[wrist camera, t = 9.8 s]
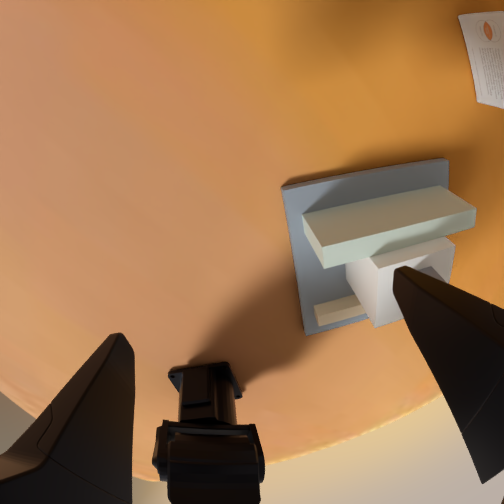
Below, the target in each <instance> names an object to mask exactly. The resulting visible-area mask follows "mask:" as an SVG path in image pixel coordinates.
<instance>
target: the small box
mask: <svg viewBox="0 0 504 504" xmlns="http://www.w3.org/2000/svg"><path fill="white" fill-rule="evenodd" d="M458 19H459V22H460V25H461V28H462V32H463V35H464V39H465V43H466V47H467V51H468V55H469V59H470V64H471V69H472V74H473V79H474V85H475V91H476V97H477V102H478V103H482V104H486V105H491V106H495V107H498V108H502V109H504V11H494V12H480V13H470V14H463V15H459V16H458Z"/></svg>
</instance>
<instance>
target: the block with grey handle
mask: <svg viewBox="0 0 504 504" xmlns="http://www.w3.org/2000/svg"><path fill="white" fill-rule="evenodd" d="M455 246H456V245H454V244H453V243H452V242H451V241H450V240H449V239H447V238H446V237H445V236H443V237H440V238H436V239H433V240H429V241H426V242H422V243H419V244H415V245H412V246H408V247H405V248H401V249H397V250H394V251H390V252H386V253H383V254H379V255H375V256H372V257H368V258H364V259H360V260H356V261H353V262H349V263H345V268H346V280H347V281H348V283H349V285H350V286H351V288H352V290H353V291H354V293H355V295H356V296H357V298H358V300H359V302H360V303H361V305H362V307H363V308H364V310H365V312H366V314H367V315H368V317H369V319H370V321H371V322H372V324H373V326H374V328H377V327H380V326H383V325H386V324H389V323H392V322H395V321H398V320H401V319H404V317H403V315H402V313H401V310H400V308H399V306H398V304H397V301H396V299H395V297H394V295H393V290H392V287H393V274H394V270H395V269H396V268H398V267H401V266H409V267H411V268H413V269H416V270H418V271H420V272H423V273H425V274H427V275H430V276H432V277H434V278H436V279H439V280H441V281H443V282H445V283H448V284H449V280H450V275H451V270H452V265H453V259H454V253H455Z"/></svg>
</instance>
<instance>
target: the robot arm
mask: <svg viewBox="0 0 504 504" xmlns="http://www.w3.org/2000/svg"><path fill="white" fill-rule="evenodd" d="M392 290H393V295H394V297H395V299H396V301H397V304H398V306H399V308H400V310H401V313H402V315H403V317H404V319H405V322H406V324H407V326H408V329H409V331H410V333H411V335H412V337H413V338H414V340H415V342H416V344H417V346H418V347H419V349H420V351H421V353H422V355H423V357H424V358H425V360H426V362H427V364H428V366H429V368H430V370H431V372H432V373H433V375H434V377H435V379H436V381H437V383H438V385H439V387H440V389H441V391H442V393H443V395H444V397H445V399H446V401H447V403H448V406H449V407H450V409H451V412H452V414H453V416H454V418H455V420H456V423H457V425H458V427H459V429H460V432H461V433H462V436H463V439H464V441H465V443H466V446H467V448H468V450H469V453H470V455H471V458H472V460H473V463H474V465H475V468H476V470H477V473H478V476H479V478H480V481H481V483H482V484H484V483H485V482H487V481H488V480H490V479H491V478H493V477H494V476H496V475H497V474H498V473H500V472H501V471H502V470H504V309H502V308H500V307H498V306H496V305H494V304H490V303H489V302H487V301H485V300H483V299H481V298H479V297H476V296H474V295H472V294H470V293H468V292H465V291H463V290H461V289H459V288H457V287H454V286H452V285H450V284H448V283H445V282H443V281H441V280H439V279H436V278H434V277H432V276H430V275H427V274H425V273H423V272H420V271H418V270H416V269H413V268H411V267H409V266H401V267H398V268H396V269H395V270H394V274H393V287H392ZM168 378H169V379H170V381H171V382H172V383H173V385H174V386H175V388H176V389H177V391H178V392H179V411H178V422H173V421H169V420H163V424H162V426H160V427H157V431H156V442H155V448H154V452H153V457H152V465H153V466H154V467H155V468H156V469H157V470H158V474H159V476H160V481H166V482H167V489H168V499H169V501H170V502H171V504H259V503H260V501H261V498H260V486H259V483H262V482H263V480H264V475H265V461H264V455H263V451H262V447H261V444H260V440H259V436H258V433H257V429H256V426H255V424H249V425H237V419H236V408H235V399H240V398H242V397H243V396H242V391H241V389H240V387H239V385H238V383H237V380H236V378H235V376H234V374H233V371H232V369H231V367H230V364H229V363H227V362H221V363H216V364H210V365H205V366H199V367H193V368H187V369H180V370H174V371H169V372H168ZM134 405H135V355H134V351H133V348H132V347H131V345H130V344H129V342H128V341H127V339H126V337H125V336H124V335H123V334H122V333H114V334H110V335H109V336H108V337H107V338H106V340H105V341H104V342H103V343H102V344H101V345H100V346H99V347H98V348H97V350H96V351H95V352H94V353H93V354H92V355H91V356H90V357H89V359H88V360H87V361H86V362H85V363H84V364H83V365H82V367H81V368H80V369H79V370H78V371H77V372H76V373H75V375H74V376H73V377H72V378H71V379H70V380H69V382H68V383H67V384H66V385H65V386H64V387H63V389H62V390H61V391H60V392H59V393H58V394H57V396H56V397H55V398H54V399H53V400H52V402H51V404H49V405H48V406H47V408H46V409H45V410H44V411H43V412H42V414H41V415H40V416H39V417H38V418H37V419H36V420H35V422H34V423H33V424H32V425H31V426H30V427H29V428H28V429H27V430H26V431H25V433H23V434H22V435H21V437H20V438H19V439H18V440H17V441H16V442H15V443H14V444H13V445H12V446H11V447H10V448H9V449H8V450H7V451H6V452H4V453H3V454H1V455H0V504H132V444H133V422H134ZM501 504H504V498H503V500H502V503H501Z"/></svg>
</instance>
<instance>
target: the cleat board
mask: <svg viewBox="0 0 504 504" xmlns="http://www.w3.org/2000/svg"><path fill="white" fill-rule="evenodd" d="M448 185H449V160H447V159H445V158H439V159H432V160H425V161H418V162H411V163H405V164H399V165H393V166H387V167H381V168H375V169H369V170H363V171H358V172H352V173H347V174H342V175H337V176H331V177H326V178H321V179H316V180H311V181H307V182H302V183H297V184H292V185H288V186H283V187H281V191H282V197H283V202H284V208H285V213H286V219H287V225H288V230H289V236H290V242H291V248H292V254H293V260H294V267H295V273H296V279H297V286H298V292H299V299H300V306H301V313H302V319H303V327H304V332H305V335H306V336H308V335H312V334H316V333H320V332H323V331H327V330H331V329H334V328H338V327H341V326H345V325H348V324H351V323H355V322H358V321H361V320H365V319H368V318H369V317H368V315H367V314H366V312H365V310H364V308H363V307H362V305H361V303H360V302H359V300H358V298H357V296H356V295H355V293H354V291H353V290H352V288H351V286H350V285H349V283H348V281H347V280H346V268H345V263H349V262H353V261H356V260H360V259H364V258H368V257H372V256H375V255H379V254H383V253H386V252H390V251H394V250H397V249H401V248H405V247H408V246H412V245H415V244H419V243H422V242H426V241H429V240H433V239H436V238H440V237H443V236H446V235H450V234H453V233H457V232H460V231H463V230H467V229H470V228H473V227H474V226H475V218H476V211H477V208H475V207H474V206H472V205H471V204H469V203H468V202H466V201H465V200H463V199H462V198H460V197H458V196H457V195H455V194H454V193H452V192H450V191H449V190H448Z"/></svg>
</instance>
